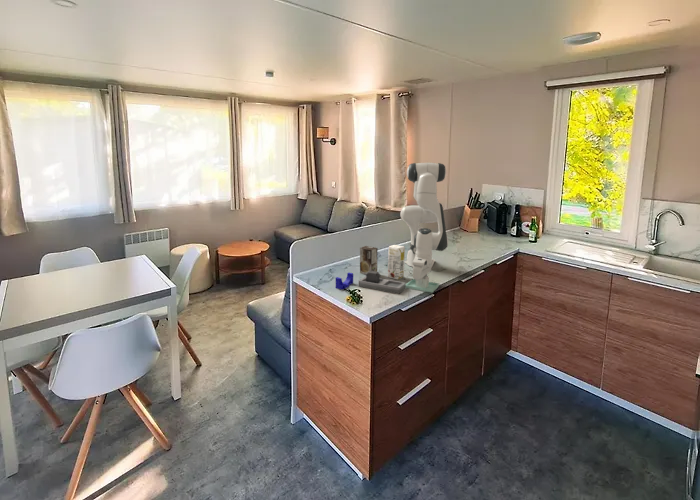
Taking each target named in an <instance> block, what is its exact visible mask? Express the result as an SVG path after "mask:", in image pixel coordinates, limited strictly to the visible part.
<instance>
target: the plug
mask: <svg viewBox="0 0 700 500" xmlns="http://www.w3.org/2000/svg"><path fill="white" fill-rule="evenodd" d="M422 281H423V282H422V285H419V284H418V280H416V285H415V287H421V288H427V287H428V286H429V282H430V277H429V275H427V276H424V277H423V278H422Z"/></svg>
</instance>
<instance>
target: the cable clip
mask: <svg viewBox="0 0 700 500" xmlns="http://www.w3.org/2000/svg"><path fill="white" fill-rule="evenodd" d="M352 284H354V273H352V272H347V273H346V278H345V280H344V281H343V280H342V277H337V276H336V277H335V288H336V289H338V290H341V291H342V290H344V289H347V288H349V287H350V285H352Z"/></svg>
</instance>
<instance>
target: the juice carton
mask: <svg viewBox="0 0 700 500" xmlns="http://www.w3.org/2000/svg"><path fill="white" fill-rule="evenodd" d="M405 249H406V248H405V246H404V245H399V244H392V245H389V246H388V256H387V257H388V259H387V276H388V278H390V279H393V280H395V281H396V280H397V281H398V280H400V279H402V278H404V275H405V261H406V260H405V258H406V257H405V254H406V250H405Z"/></svg>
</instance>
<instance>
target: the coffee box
mask: <svg viewBox="0 0 700 500" xmlns="http://www.w3.org/2000/svg"><path fill="white" fill-rule="evenodd" d="M369 271H375V272H378V247H376V246H375V247H374V246H369V245H368V246H367V245H364V246H362V247H359V274H363V275H366V274H367V273H368V272H369Z"/></svg>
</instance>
